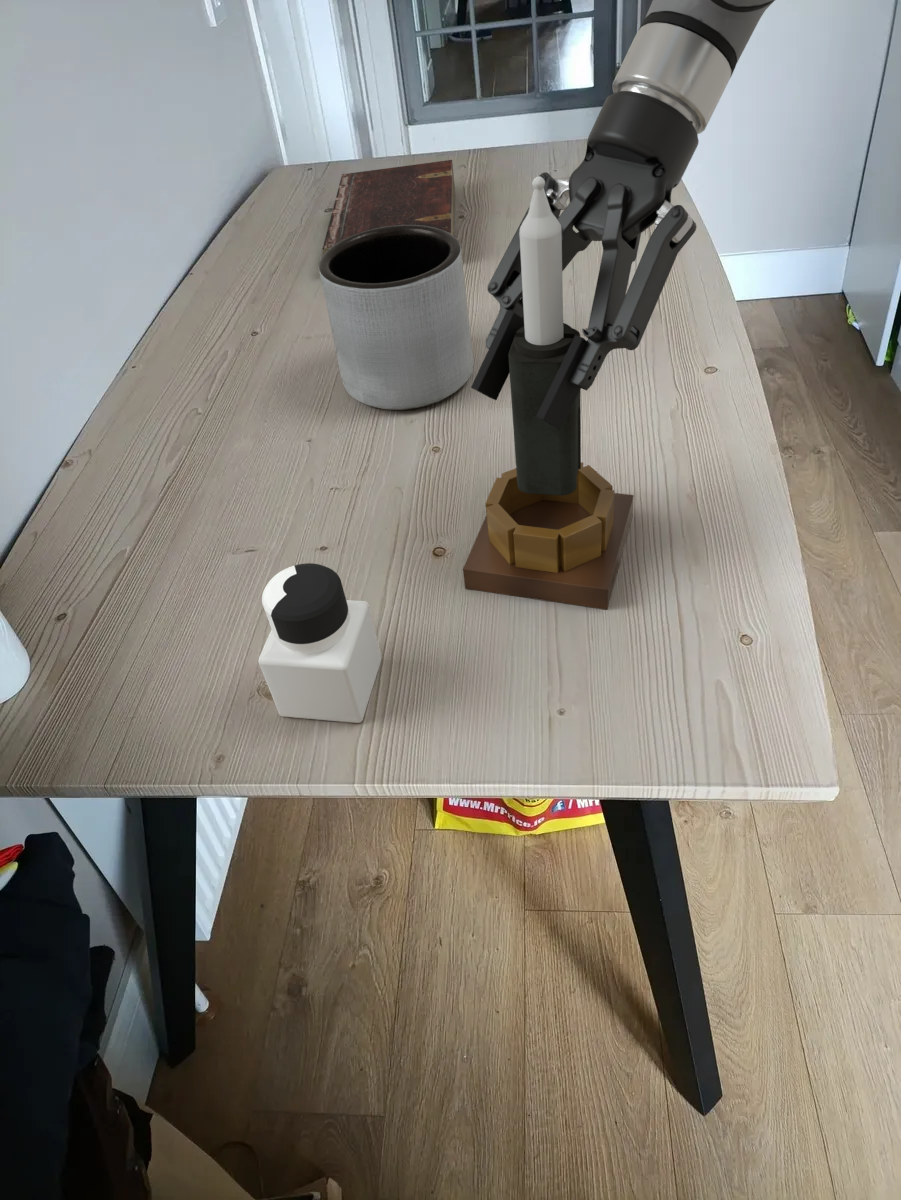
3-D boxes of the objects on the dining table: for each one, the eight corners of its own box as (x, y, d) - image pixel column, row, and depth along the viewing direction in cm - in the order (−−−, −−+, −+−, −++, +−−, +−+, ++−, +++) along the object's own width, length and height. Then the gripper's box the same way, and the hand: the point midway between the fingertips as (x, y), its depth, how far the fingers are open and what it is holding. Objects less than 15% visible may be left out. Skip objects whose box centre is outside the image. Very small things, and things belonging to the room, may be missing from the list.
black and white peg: (574, 496, 74) (571, 191, 56) (515, 493, 75) (493, 192, 57) (582, 460, 77) (581, 161, 60) (525, 457, 79) (507, 163, 61)
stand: (632, 515, 85) (635, 460, 80) (607, 610, 76) (609, 554, 72) (503, 500, 88) (498, 446, 84) (465, 588, 80) (457, 535, 75)
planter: (368, 342, 114) (345, 222, 103) (487, 347, 110) (477, 222, 99) (325, 412, 103) (294, 286, 92) (455, 419, 99) (440, 289, 88)
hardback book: (345, 202, 149) (339, 172, 146) (455, 191, 148) (452, 159, 144) (327, 279, 129) (320, 245, 125) (454, 266, 127) (450, 232, 124)
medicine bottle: (383, 658, 75) (357, 554, 67) (362, 725, 70) (332, 622, 62) (304, 652, 76) (269, 550, 68) (278, 718, 72) (238, 616, 63)
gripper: (787, 165, 62) (634, 464, 66) (577, 123, 72) (457, 384, 77) (756, 104, 56) (589, 439, 60) (531, 69, 66) (403, 355, 71)
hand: (515, 407), depth 68 cm, fingers closed on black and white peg, 6 cm apart
